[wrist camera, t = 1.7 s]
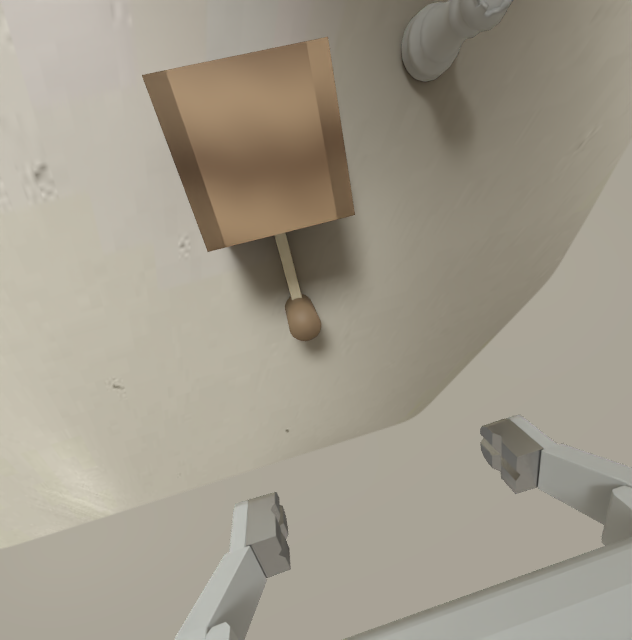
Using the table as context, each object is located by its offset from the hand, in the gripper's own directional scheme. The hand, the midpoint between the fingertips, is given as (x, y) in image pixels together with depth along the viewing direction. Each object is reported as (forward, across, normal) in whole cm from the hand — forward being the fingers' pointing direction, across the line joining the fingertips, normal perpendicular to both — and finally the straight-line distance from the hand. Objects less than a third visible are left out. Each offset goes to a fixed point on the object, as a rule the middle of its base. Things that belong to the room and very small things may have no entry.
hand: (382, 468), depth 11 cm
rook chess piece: (+20, -14, -18) cm, 31 cm away
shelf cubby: (+20, +1, -13) cm, 24 cm away
